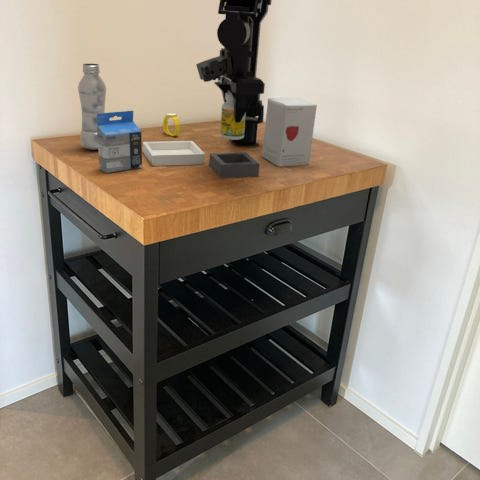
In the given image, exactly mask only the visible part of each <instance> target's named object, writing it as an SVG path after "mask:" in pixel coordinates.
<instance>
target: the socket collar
mask: <svg viewBox="0 0 480 480" xmlns="http://www.w3.org/2000/svg"><path fill="white" fill-rule="evenodd" d="M208 160H209V161H208V162H209V163H208V166H209V167H210V168H211V169H212V170H213V172H214V173H216V175H217V176H218V177H219V178H220V179H228V178H247V177H249V178H252V177H259V172H260V163H259V162H258V160H256V159H255V158H254V157H252V156H251V155H250V154H249V153H247V152H246V151H245V152H243V151H239V152H211V153H210V152H209V159H208Z"/></svg>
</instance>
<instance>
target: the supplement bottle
mask: <svg viewBox="0 0 480 480" xmlns="http://www.w3.org/2000/svg"><path fill="white" fill-rule="evenodd" d="M225 99H226V100H227V101H226V102H225V103H224V102H223V103H222V106H221V119H220V136H221V138H223V139H226V140H229V139H231V140H239V139H242V138H243V137H244V132H245V117H246V112H245V114H244V116H243V118H242V120H241V122H235V116H234V102H233V97H232V96H231V95H230V93H229V92H228V93H226V95H225Z"/></svg>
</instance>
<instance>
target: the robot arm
mask: <svg viewBox="0 0 480 480" xmlns="http://www.w3.org/2000/svg"><path fill="white" fill-rule="evenodd" d="M272 1H273V0H219V4H218V9H217V10H218V11H217V14H218V15H225V19H223V20H222V21H221V22H220V23H219V25H218V28H217V31H216V32H217V33H216V35H217V40H218V41H219V44H220V45H221V46H222V47H224V48H222V47H221V48H220V50H219V55H218V56H215V57H212V58H208V59H206V60H203V61H201V62H198V63H196V69H197V73H198V74H199V79H200V80H202V81H203V82H205V83H207V82H211V81H215V82H214V85H215V86H216V87H218V89H219V90H220V91H221V94H222V99H223V103H225V102H226V101H227V100H226V99H225V95H226V93H228V92H229V93H230V95H231V96H232V97H233V102H234V116H235V122H241V120H242V118H243V116H244V114H245V112H246V117H245V132H244V137H243V138H242V139H239V140H231V139H228V140H229V141H230V142H231V143H232V144H233V145H235V146H237V147H239V146H242V147H244V146H247V147H251V146H259V142H257V135H258V125H259V124H262V123H264V115H265V114H264V113H265V111H264V110H265V109H264V108H265V106H264V105H263V100H261V95H262V94H265V87H266V86H265V85H266V84H265V82H264V81H263V80H262V79H261V78H259V77H257V70H258V69H257V68H258V57H259V45H260V36H261V34H260V33H261V27H262V26H261V23H262V22H263V20H264V19H265V17H266V16H267V15H268V12H269V6H272Z"/></svg>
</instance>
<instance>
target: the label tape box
mask: <svg viewBox="0 0 480 480" xmlns="http://www.w3.org/2000/svg"><path fill="white" fill-rule="evenodd" d="M115 117H117V118H121V119H114V120H113V119H112V118H115ZM110 119H112V120H110ZM97 136H98V164H99V165H98V166H99V170H100V171H102V172H104V173H107V174H109V173H115V172H116V173H117V172H122V171H128V170H133V169H139V168H143V142H142V131H141V130H140V128H139V127H138V125H137V124H136V123H135V122H134V110H122V111H113V112H112V111H111V112H105V113H98V114H97Z"/></svg>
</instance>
